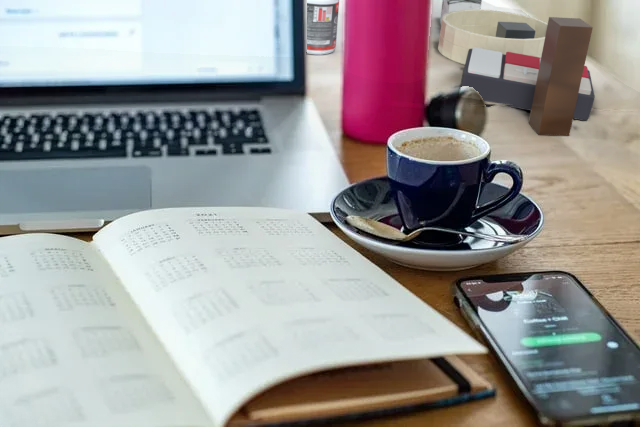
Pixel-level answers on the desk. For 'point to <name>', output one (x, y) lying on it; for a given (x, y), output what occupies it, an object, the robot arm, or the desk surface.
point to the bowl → (486, 34)
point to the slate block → (514, 30)
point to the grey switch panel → (515, 80)
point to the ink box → (459, 6)
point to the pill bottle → (322, 26)
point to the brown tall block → (559, 75)
